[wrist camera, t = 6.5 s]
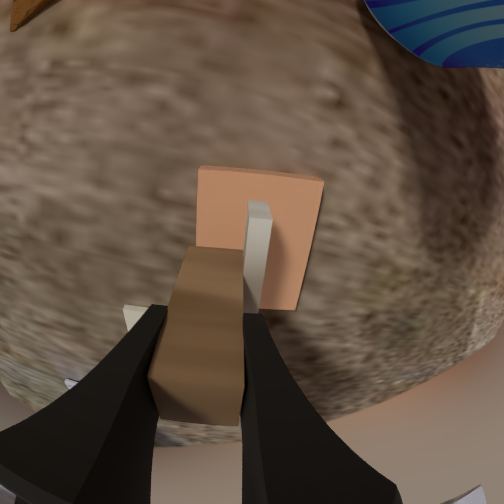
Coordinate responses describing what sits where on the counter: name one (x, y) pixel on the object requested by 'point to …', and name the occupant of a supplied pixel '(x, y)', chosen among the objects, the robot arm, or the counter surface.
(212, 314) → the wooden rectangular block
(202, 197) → the tile
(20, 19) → the primitive tool
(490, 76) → the counter surface
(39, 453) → the robot arm
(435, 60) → the beer can
